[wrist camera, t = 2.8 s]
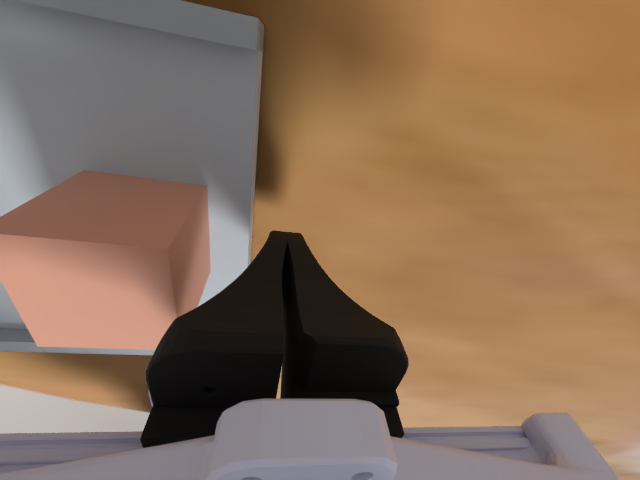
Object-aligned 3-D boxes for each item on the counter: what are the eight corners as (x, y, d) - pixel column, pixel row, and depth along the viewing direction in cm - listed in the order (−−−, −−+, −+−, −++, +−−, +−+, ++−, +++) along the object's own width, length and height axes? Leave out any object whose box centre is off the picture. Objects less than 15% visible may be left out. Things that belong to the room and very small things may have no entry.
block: (210, 270, 14) (181, 350, 10) (109, 263, 13) (37, 346, 9) (207, 185, 12) (167, 248, 8) (83, 170, 11) (-27, 231, 7)
